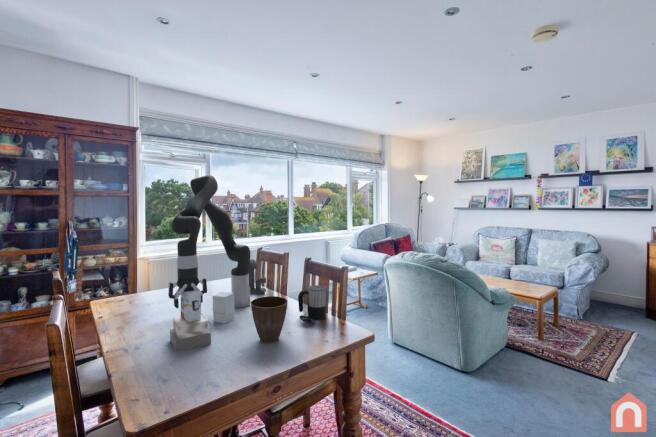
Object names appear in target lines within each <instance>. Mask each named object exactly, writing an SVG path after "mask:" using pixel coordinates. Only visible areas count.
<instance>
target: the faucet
mask: <svg viewBox="0 0 656 437" xmlns="http://www.w3.org/2000/svg"><path fill="white" fill-rule="evenodd" d="M257 266H258V264H257V262H256V260H255V259H252V258H250V269H249V288H250V295H265V293H266V292H267V289H266V288H265V287H262V284H266V283H267V277H258V278H257V279H255V270H257ZM255 280H256V281H255Z"/></svg>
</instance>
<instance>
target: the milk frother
mask: <svg viewBox="0 0 656 437" xmlns="http://www.w3.org/2000/svg"><path fill="white" fill-rule="evenodd" d="M327 289H328V288H327V287H326V286H325V285H318V284H317V285H309V286H308V287H307V289H302V290H300V291H299V293H298V302H297V303H298V311H299V313H302V312H304V297H303V296H304V295H307V308H306V309H307V312H306V313H307V316H306V315H303V314H301V315H299V319H300V320H301V321H302V322H303V323H306V324H308V325H309V326H310V325H315V324H316V321H320V320H324V319H326V318H327V313H326V309H327V308H326V307H327V305H326V304H327V303H326V302H327V301H326V298H327V295H326V294H327V293H326V292H327Z"/></svg>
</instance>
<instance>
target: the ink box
mask: <svg viewBox="0 0 656 437" xmlns="http://www.w3.org/2000/svg"><path fill="white" fill-rule="evenodd" d="M201 291H202V290H201V289H199V290H195V289H194V290H192V291H186V292H182V294H181V295H180V317H181V318H183V319H185V320H186V321H188V322H193V321H197V320H201V313H202V303H201Z"/></svg>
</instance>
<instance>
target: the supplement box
mask: <svg viewBox="0 0 656 437" xmlns="http://www.w3.org/2000/svg"><path fill="white" fill-rule="evenodd" d="M235 318H236V317H235V307H234V293H231V292H225V291H219V292H218V293H216V294H214V295H212V321H213V322H214V323H220V324H221V323H223V324H227V323H229V322H231V321H232V320H234V319H235Z"/></svg>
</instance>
